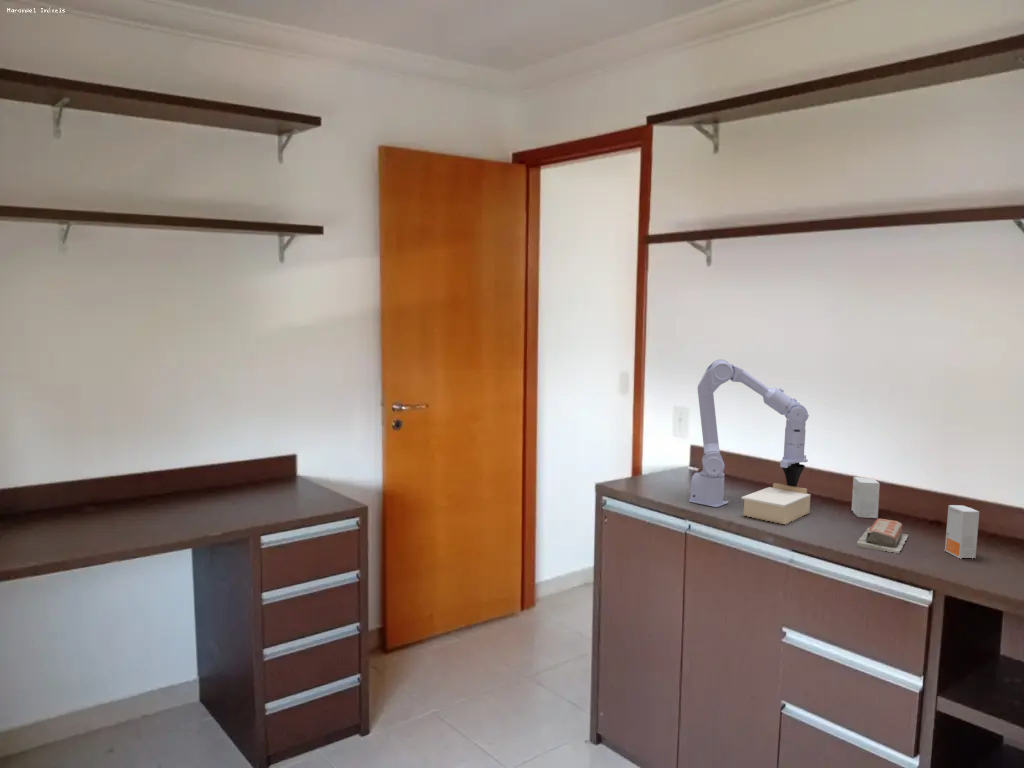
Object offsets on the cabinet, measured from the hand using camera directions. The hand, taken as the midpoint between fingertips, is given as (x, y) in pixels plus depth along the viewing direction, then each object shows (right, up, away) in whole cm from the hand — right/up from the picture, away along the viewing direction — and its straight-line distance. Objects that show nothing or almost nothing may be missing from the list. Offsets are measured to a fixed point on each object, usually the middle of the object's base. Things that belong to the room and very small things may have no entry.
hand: (791, 488), depth 231 cm
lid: (-7, -2, -8) cm, 11 cm away
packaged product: (+12, -10, -31) cm, 35 cm away
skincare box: (+27, -11, -41) cm, 50 cm away
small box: (+20, -8, -4) cm, 22 cm away
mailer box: (-7, -7, -7) cm, 12 cm away
